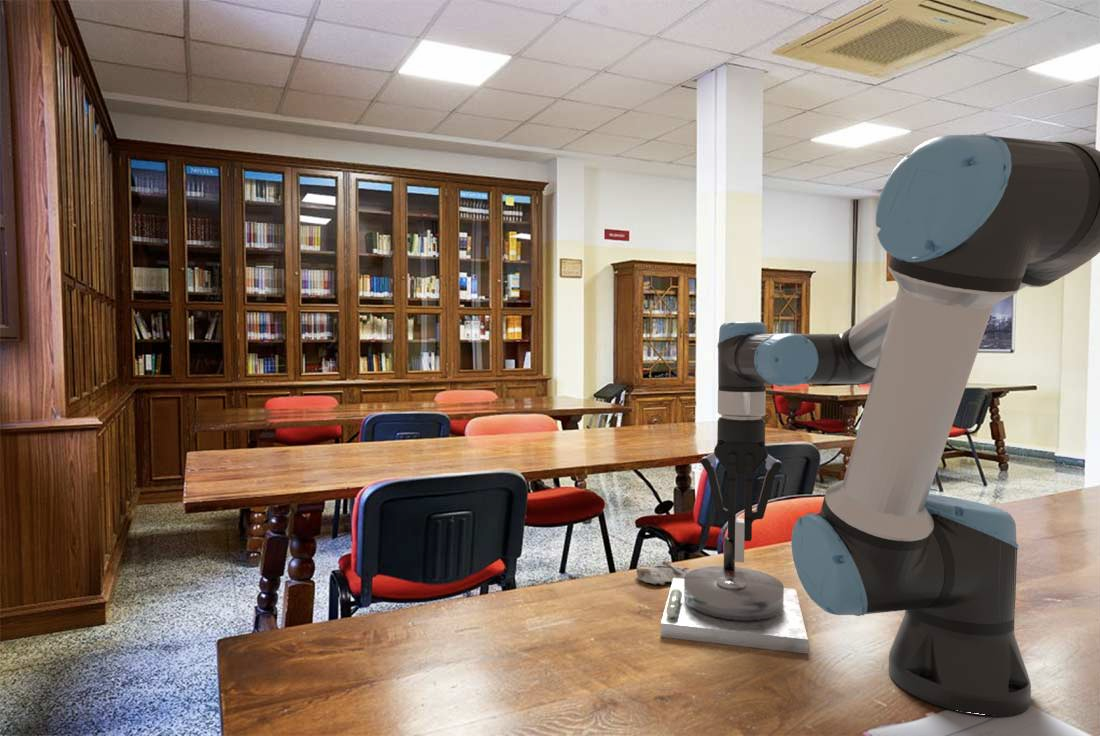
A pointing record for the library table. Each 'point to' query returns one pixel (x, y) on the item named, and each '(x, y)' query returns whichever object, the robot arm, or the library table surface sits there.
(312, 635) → the library table surface
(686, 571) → the stone
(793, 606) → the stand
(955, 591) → the robot arm
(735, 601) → the crank handle wheel
